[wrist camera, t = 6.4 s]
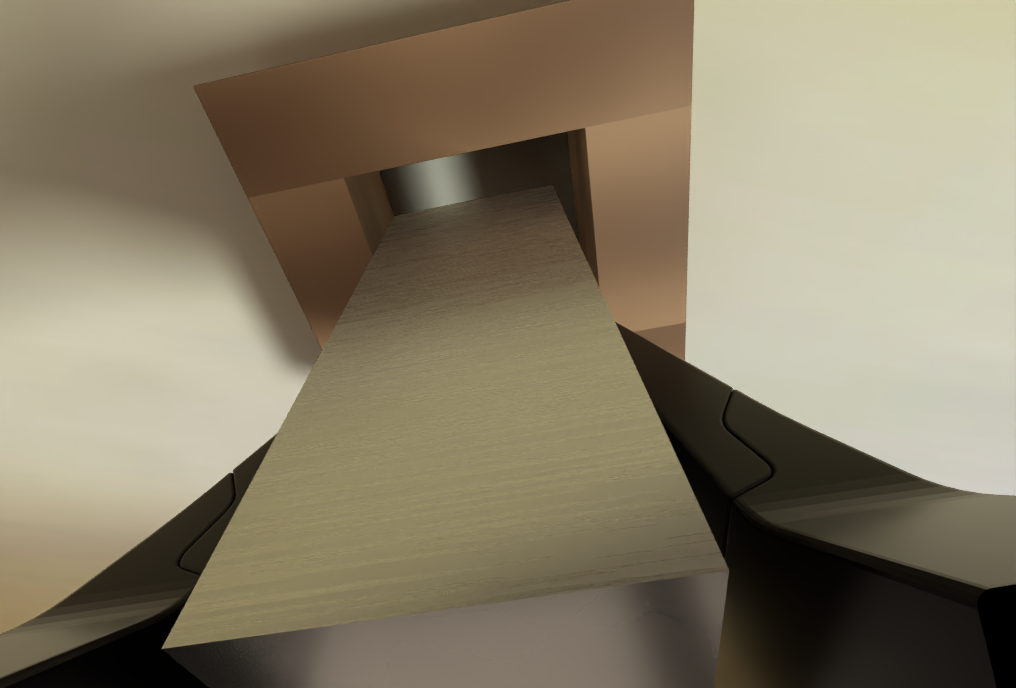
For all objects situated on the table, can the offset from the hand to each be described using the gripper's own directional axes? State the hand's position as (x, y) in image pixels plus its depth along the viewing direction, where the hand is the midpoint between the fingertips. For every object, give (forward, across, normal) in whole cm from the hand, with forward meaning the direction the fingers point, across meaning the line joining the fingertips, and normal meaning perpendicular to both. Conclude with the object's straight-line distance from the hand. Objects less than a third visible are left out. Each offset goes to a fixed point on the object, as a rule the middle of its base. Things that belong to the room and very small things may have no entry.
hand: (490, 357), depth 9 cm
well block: (+8, 0, 0) cm, 8 cm away
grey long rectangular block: (+4, 0, 0) cm, 4 cm away
